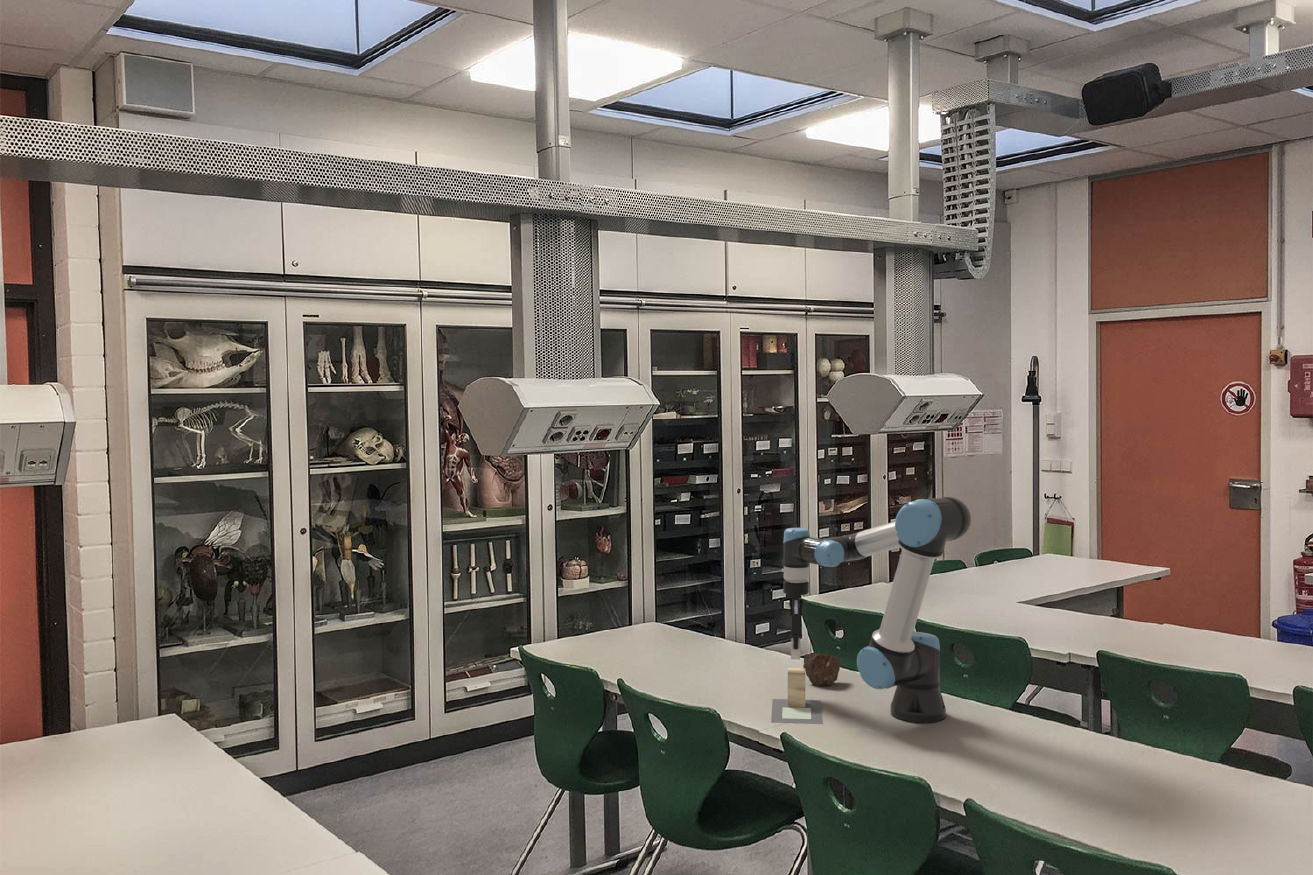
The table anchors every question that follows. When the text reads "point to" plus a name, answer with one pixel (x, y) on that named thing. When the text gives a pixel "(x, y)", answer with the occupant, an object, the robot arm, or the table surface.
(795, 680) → the beech block
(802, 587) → the robot arm
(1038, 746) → the table surface
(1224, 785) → the table surface
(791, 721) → the rubber mat
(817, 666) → the rock
